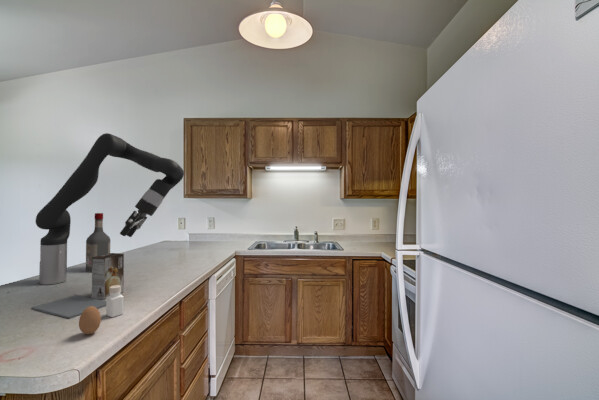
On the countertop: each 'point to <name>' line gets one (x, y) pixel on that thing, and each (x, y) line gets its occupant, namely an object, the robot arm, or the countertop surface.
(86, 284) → the countertop surface
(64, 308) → the mat
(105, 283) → the coffee box
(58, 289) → the countertop surface
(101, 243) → the liquor
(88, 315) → the egg
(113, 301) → the salt shaker
